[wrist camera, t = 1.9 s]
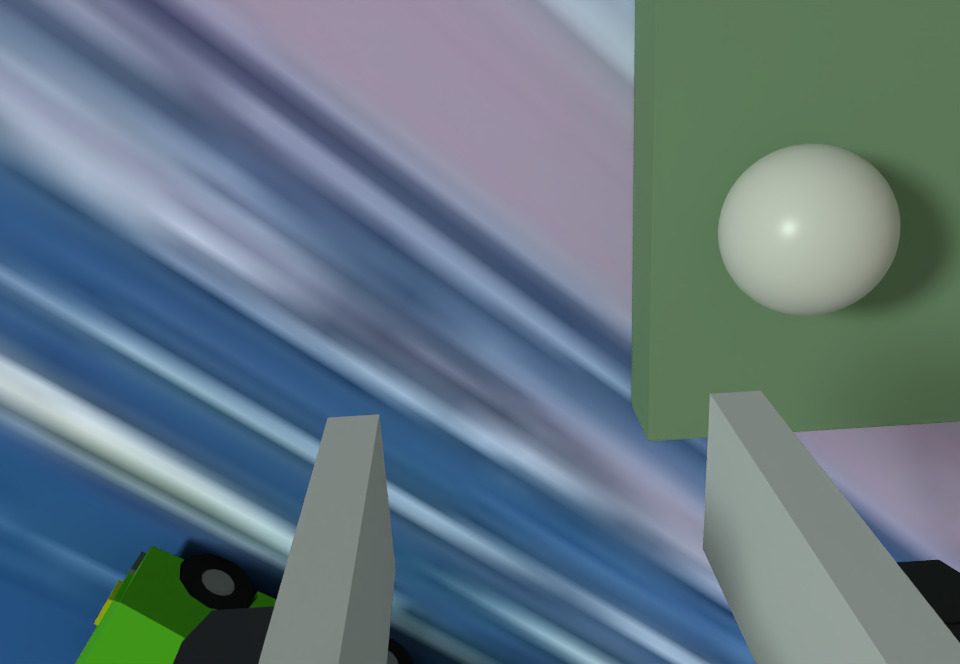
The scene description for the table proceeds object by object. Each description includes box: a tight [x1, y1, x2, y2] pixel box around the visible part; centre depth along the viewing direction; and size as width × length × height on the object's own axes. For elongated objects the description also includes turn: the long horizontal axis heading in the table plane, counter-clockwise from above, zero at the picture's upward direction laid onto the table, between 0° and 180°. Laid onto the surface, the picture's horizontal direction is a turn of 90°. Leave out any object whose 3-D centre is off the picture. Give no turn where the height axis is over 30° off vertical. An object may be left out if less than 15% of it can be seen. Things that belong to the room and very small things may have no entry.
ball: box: [718, 144, 900, 316], centre depth 26 cm, size 5×5×5 cm
